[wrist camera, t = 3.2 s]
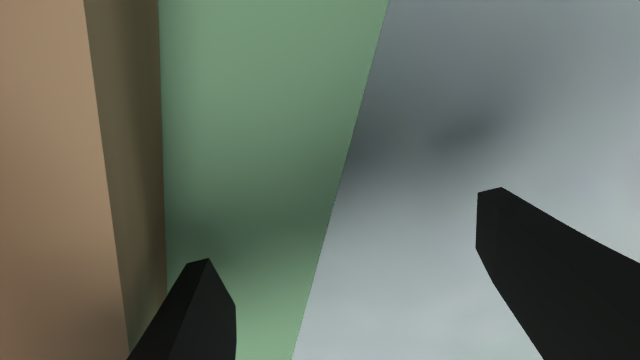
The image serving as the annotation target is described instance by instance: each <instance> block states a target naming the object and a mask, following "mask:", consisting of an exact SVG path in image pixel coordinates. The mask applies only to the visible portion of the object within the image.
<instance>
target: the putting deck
mask: <svg viewBox="0 0 640 360" xmlns="http://www.w3.org/2000/svg"><path fill="white" fill-rule="evenodd" d="M388 2H389V0H158V30H159V60H160V89H161V119H162V149H163V179H164V209H165V239H166V269H167V295H168V293H169V291H170V290H171V288H172V286H173V285H174V283H175V281H176V280H177V278H178V276H179V275H180V273H181V272H182V270H183V268H184V267H185V265H186V264H187V263H190V262H194V261H198V260H202V259H206V258H209V259H210V260H211V262H212V264H213V266H214V267H215V269H216V271H217V273H218V275H219V276H220V278H221V280H222V282H223V284H224V285H225V287H226V289H227V291H228V293H229V294H230V296H231V298H232V300H233V302H234V303H235V305H236V329H237V345H236V357H235V360H291V359H292V355H293V352H294V348H295V344H296V341H297V337H298V333H299V330H300V326H301V322H302V319H303V315H304V311H305V308H306V304H307V300H308V297H309V293H310V289H311V286H312V282H313V278H314V275H315V271H316V267H317V264H318V260H319V256H320V252H321V249H322V245H323V241H324V238H325V234H326V230H327V227H328V223H329V219H330V216H331V212H332V208H333V205H334V201H335V197H336V194H337V190H338V186H339V183H340V179H341V175H342V172H343V168H344V164H345V161H346V157H347V153H348V150H349V146H350V142H351V138H352V135H353V131H354V127H355V124H356V120H357V116H358V113H359V109H360V105H361V102H362V98H363V94H364V91H365V87H366V83H367V80H368V76H369V72H370V69H371V65H372V61H373V58H374V54H375V50H376V47H377V43H378V39H379V36H380V32H381V28H382V24H383V21H384V17H385V13H386V10H387V6H388Z"/></svg>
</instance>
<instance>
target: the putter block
mask: <svg viewBox="0 0 640 360" xmlns="http://www.w3.org/2000/svg"><path fill="white" fill-rule="evenodd" d="M166 296H167V269H166V239H165V209H164V179H163V149H162V119H161V89H160V60H159V30H158V0H0V360H126V359H127V358H128V356H129V355H130V353H131V352H132V351H133V349H134V348H135V346H136V345H137V343H138V341H139V340H140V338H141V337H142V335H143V333H144V332H145V330H146V329H147V327H148V326H149V324H150V322H151V321H152V319H153V318H154V316H155V314H156V313H157V311H158V309H159V308H160V306H161V304H162V303H163V301H164V300H165V298H166Z"/></svg>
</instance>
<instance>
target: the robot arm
mask: <svg viewBox="0 0 640 360" xmlns="http://www.w3.org/2000/svg"><path fill="white" fill-rule="evenodd" d="M476 250H477V252H478V254H479V256H480V258H481V260H482V262H483V264H484V267H485V268H486V270H487V272H488V274H489V276H490V278H491V280H492V282H493V284H494V285H495V287H496V288H497V290H498V291H499V293H500V294H501V296H502V298H503V299H504V301H505V302H506V304H507V305H508V307H509V308H510V310H511V311H512V313H513V314H514V316H515V317H516V319H517V320H518V322H519V323H520V325H521V326H522V328H523V329H524V331H525V332H526V334H527V335H528V337H529V338H530V340H531V341H532V343H533V344H534V346H535V347H536V349H537V350H538V352H539V353H540V355H541V356H542V358H543V359H544V360H640V263H638V262H636V261H634V260H632V259H630V258H628V257H626V256H624V255H622V254H620V253H618V252H616V251H614V250H612V249H610V248H608V247H606V246H604V245H602V244H601V243H599V242H597V241H595V240H593V239H591V238H589V237H587V236H586V235H584V234H582V233H580V232H578V231H576V230H575V229H573V228H571V227H569V226H568V225H566V224H564V223H562V222H560V221H559V220H557V219H555V218H554V217H552V216H550V215H548V214H547V213H545V212H543V211H542V210H540V209H538V208H536V207H535V206H533V205H531V204H530V203H528V202H526V201H525V200H523V199H521V198H520V197H518V196H516V195H514V194H513V193H511V192H509V191H507V190H506V189H504V188H502V187H499V188H495V189H491V190H487V191H483V192H479V193H478V200H477V225H476ZM236 345H237V329H236V305H235V303H234V302H233V300H232V298H231V296H230V294H229V293H228V291H227V289H226V287H225V285H224V284H223V282H222V280H221V278H220V276H219V275H218V273H217V271H216V269H215V267H214V266H213V264H212V262H211V260H210V259H209V258H206V259H202V260H198V261H194V262H190V263H187V264H186V265H185V267H184V268H183V270H182V272H181V273H180V275H179V276H178V278H177V280H176V281H175V283H174V285H173V286H172V288H171V290H170V291H169V293H168V295H167V296H166V298H165V300H164V301H163V303H162V304H161V306H160V308H159V309H158V311H157V313H156V314H155V316H154V318H153V319H152V321H151V322H150V324H149V326H148V327H147V329H146V330H145V332H144V333H143V335H142V337H141V338H140V340H139V341H138V343H137V345H136V346H135V348H134V349H133V351H132V352H131V353H130V355H129V356H128V358H127V359H126V360H235V357H236Z"/></svg>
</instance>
